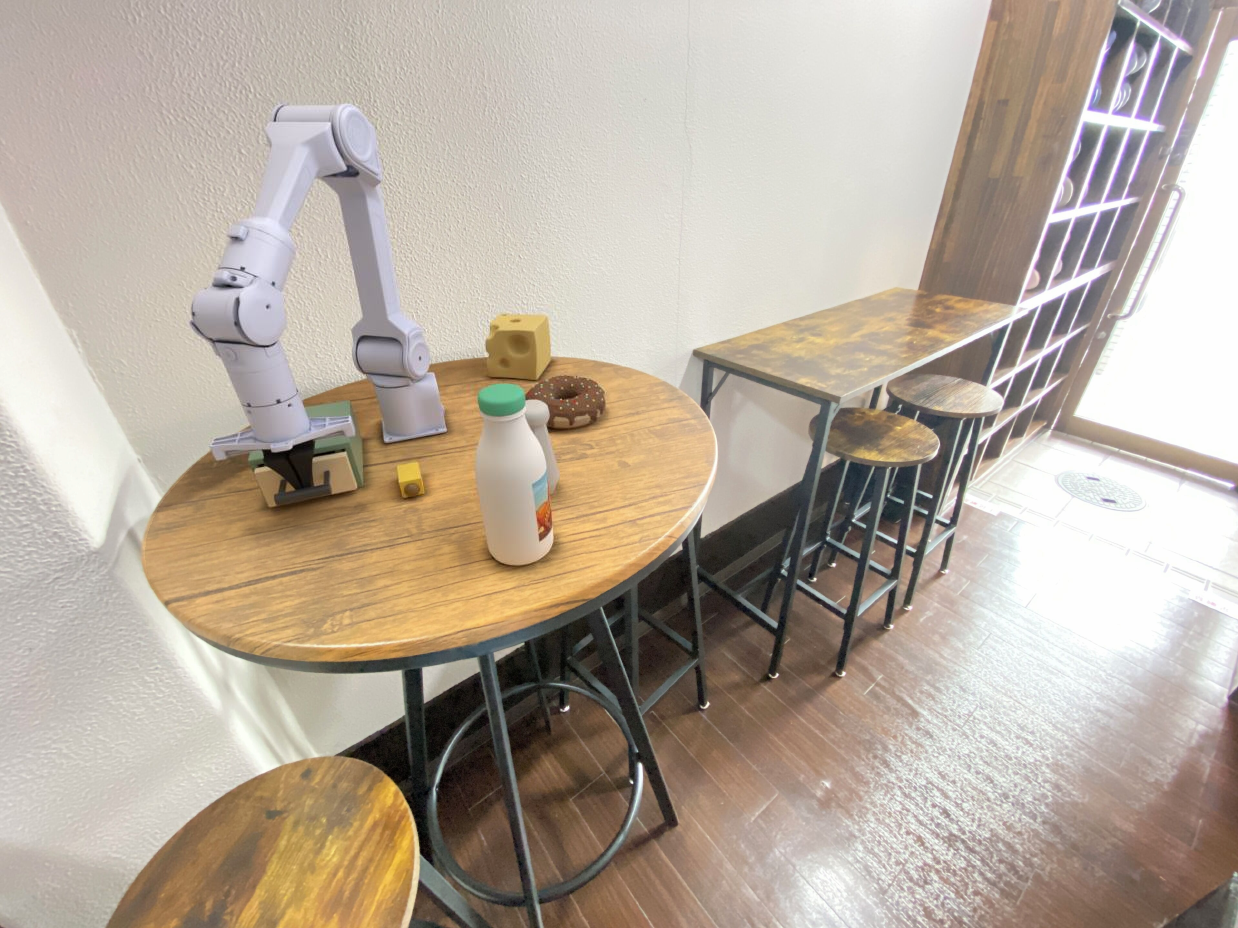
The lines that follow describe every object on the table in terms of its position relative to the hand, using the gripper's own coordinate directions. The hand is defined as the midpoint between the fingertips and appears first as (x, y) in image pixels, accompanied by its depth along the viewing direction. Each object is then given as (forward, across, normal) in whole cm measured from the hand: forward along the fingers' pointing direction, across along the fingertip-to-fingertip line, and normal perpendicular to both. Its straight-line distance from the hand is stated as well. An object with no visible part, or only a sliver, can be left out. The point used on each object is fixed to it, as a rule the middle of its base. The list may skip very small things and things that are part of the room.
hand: (308, 493), depth 67 cm
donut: (+3, +38, +13) cm, 40 cm away
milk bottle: (+3, +23, -17) cm, 29 cm away
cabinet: (+3, 0, +10) cm, 11 cm away
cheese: (+3, +36, +35) cm, 51 cm away
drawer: (+2, 0, +6) cm, 6 cm away
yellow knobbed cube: (+3, +12, +1) cm, 12 cm away
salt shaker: (+3, +28, -7) cm, 29 cm away
